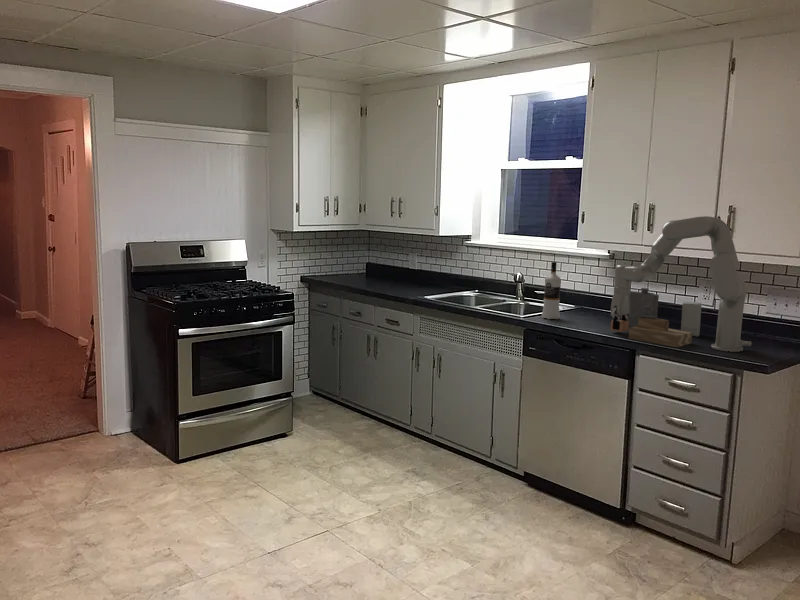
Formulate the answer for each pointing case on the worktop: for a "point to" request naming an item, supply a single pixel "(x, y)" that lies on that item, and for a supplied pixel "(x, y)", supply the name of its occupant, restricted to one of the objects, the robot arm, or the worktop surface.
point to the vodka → (552, 295)
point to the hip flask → (641, 304)
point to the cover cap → (621, 326)
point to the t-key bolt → (645, 312)
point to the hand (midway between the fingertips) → (619, 328)
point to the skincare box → (691, 317)
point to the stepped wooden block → (659, 332)
